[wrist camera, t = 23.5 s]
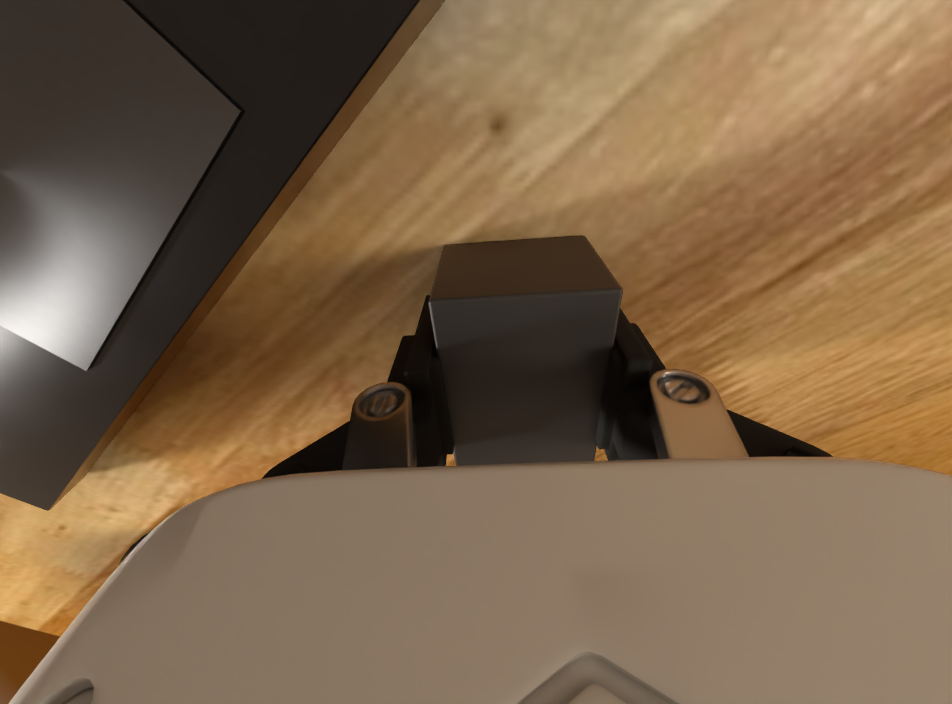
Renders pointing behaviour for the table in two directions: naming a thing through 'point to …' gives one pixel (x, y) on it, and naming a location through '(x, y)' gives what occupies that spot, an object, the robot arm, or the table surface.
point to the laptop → (151, 188)
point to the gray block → (524, 347)
